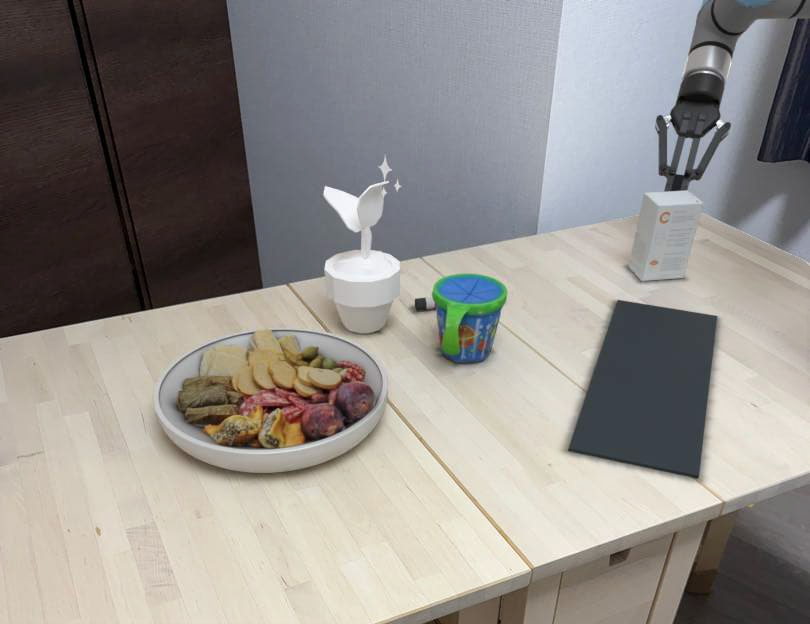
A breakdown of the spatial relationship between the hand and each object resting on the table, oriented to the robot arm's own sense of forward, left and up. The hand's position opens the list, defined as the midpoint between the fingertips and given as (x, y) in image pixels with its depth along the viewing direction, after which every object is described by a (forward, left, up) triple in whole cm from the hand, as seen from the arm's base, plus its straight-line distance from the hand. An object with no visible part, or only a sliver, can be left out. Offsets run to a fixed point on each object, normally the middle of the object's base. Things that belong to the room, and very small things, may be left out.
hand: (669, 214), depth 131 cm
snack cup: (+12, +49, -9) cm, 51 cm away
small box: (-1, +5, -9) cm, 10 cm away
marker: (+20, +36, -9) cm, 43 cm away
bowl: (+24, +78, -9) cm, 82 cm away
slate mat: (-14, +39, -8) cm, 42 cm away
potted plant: (+30, +51, -9) cm, 60 cm away
